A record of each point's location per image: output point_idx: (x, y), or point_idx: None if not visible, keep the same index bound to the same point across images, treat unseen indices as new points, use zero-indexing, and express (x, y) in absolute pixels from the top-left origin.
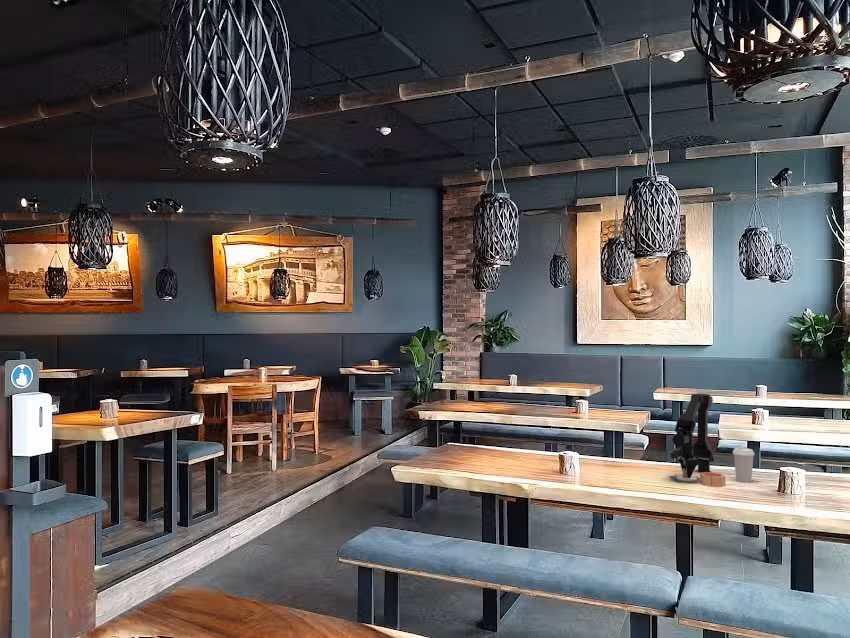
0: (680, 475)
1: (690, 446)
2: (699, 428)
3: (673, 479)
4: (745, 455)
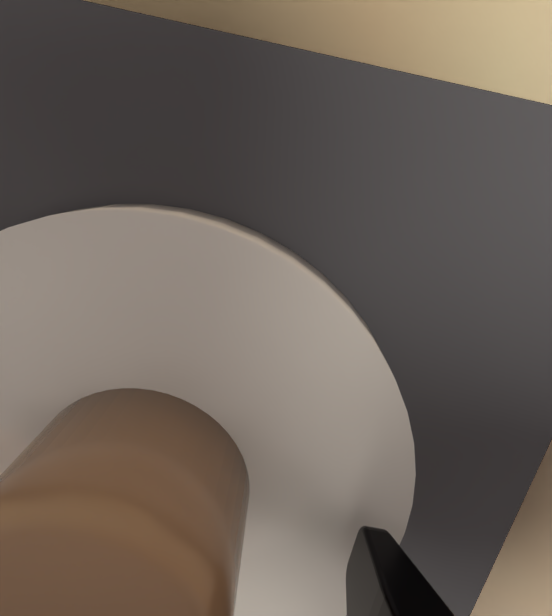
0: (365, 425)
1: None
2: None
3: (133, 57)
4: None
